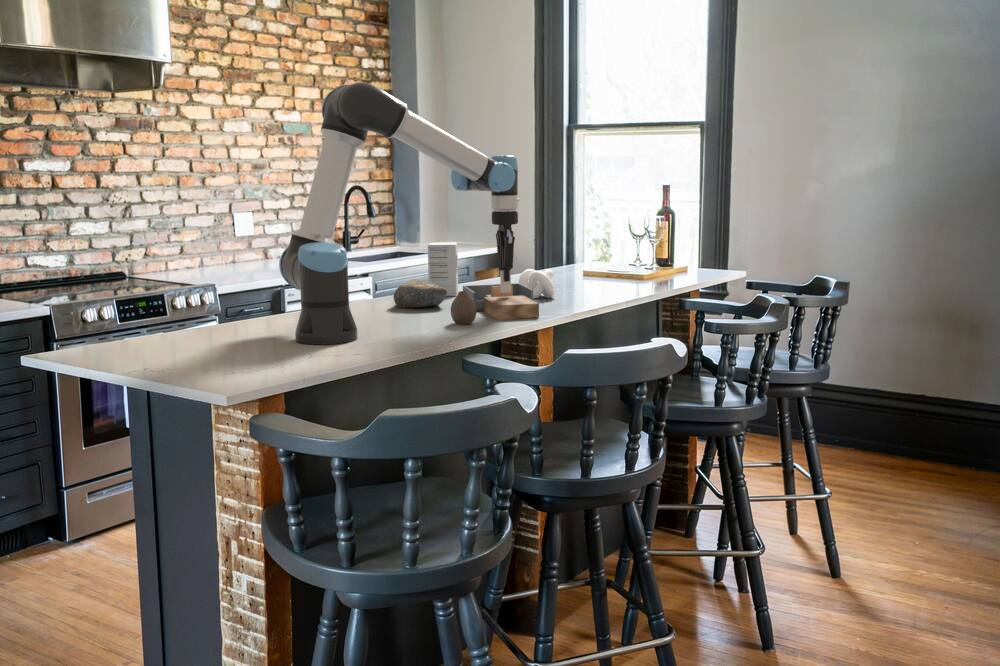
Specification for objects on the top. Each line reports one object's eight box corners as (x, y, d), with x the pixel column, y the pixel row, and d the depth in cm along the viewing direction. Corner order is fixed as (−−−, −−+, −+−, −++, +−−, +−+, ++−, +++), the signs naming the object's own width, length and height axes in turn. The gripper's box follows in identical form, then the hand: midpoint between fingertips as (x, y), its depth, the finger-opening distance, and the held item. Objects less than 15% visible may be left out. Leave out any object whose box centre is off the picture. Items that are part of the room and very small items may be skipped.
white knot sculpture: (566, 298, 290) (566, 270, 288) (535, 301, 283) (535, 273, 281) (544, 294, 299) (544, 266, 297) (514, 297, 292) (514, 269, 291)
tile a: (492, 286, 268) (490, 286, 271) (493, 307, 269) (491, 306, 272) (512, 285, 270) (510, 285, 272) (513, 306, 270) (511, 305, 273)
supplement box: (457, 296, 296) (455, 244, 293) (428, 296, 296) (427, 244, 293) (458, 292, 305) (457, 241, 302) (431, 292, 305) (429, 242, 302)
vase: (473, 326, 242) (472, 293, 240) (448, 325, 243) (447, 293, 242) (479, 321, 249) (478, 290, 247) (454, 321, 250) (453, 289, 248)
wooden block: (497, 319, 251) (496, 305, 250) (484, 310, 266) (483, 297, 266) (538, 317, 254) (538, 303, 253) (523, 308, 269) (523, 295, 269)
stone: (413, 301, 287) (412, 276, 285) (458, 306, 276) (458, 280, 274) (381, 307, 276) (380, 281, 274) (427, 313, 265) (426, 285, 263)
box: (473, 311, 266) (473, 292, 265) (463, 303, 281) (462, 285, 280) (533, 308, 270) (532, 289, 269) (519, 300, 285) (519, 283, 284)
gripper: (523, 211, 255) (524, 294, 260) (511, 208, 268) (512, 288, 272) (497, 211, 254) (498, 296, 258) (486, 209, 266) (488, 289, 270)
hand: (505, 292), depth 265 cm, fingers closed
